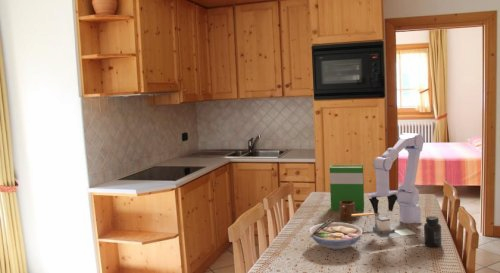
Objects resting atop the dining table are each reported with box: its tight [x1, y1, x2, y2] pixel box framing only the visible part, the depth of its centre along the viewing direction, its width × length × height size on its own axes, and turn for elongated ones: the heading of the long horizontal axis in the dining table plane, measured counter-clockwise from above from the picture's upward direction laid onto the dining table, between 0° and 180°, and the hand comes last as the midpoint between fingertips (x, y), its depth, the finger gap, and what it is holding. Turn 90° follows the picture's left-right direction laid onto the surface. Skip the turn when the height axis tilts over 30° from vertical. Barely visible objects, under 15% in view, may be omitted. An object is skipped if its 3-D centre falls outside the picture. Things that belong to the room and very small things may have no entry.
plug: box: [377, 216, 391, 231], centre depth 209 cm, size 4×4×6 cm
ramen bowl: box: [308, 218, 364, 251], centre depth 194 cm, size 25×23×8 cm
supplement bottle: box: [423, 215, 443, 248], centre depth 190 cm, size 7×7×12 cm
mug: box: [339, 200, 356, 223], centre depth 228 cm, size 12×8×9 cm, turn 149°
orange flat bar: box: [351, 211, 380, 217], centre depth 214 cm, size 3×13×1 cm, turn 93°
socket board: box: [362, 214, 417, 241], centre depth 209 cm, size 18×18×7 cm
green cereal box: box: [329, 164, 365, 212], centre depth 249 cm, size 18×7×24 cm, turn 74°
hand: (383, 211), depth 208 cm, fingers open, 7 cm apart
